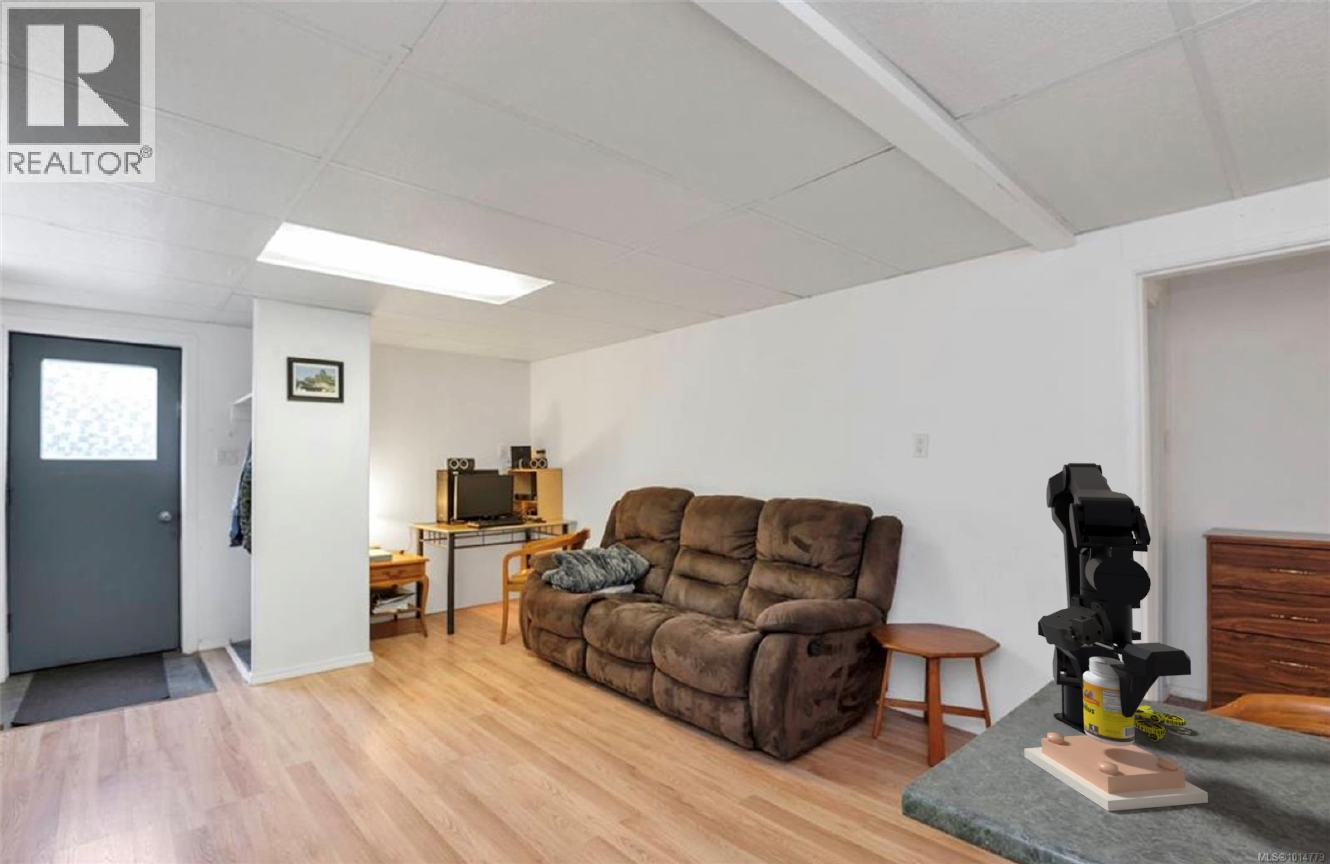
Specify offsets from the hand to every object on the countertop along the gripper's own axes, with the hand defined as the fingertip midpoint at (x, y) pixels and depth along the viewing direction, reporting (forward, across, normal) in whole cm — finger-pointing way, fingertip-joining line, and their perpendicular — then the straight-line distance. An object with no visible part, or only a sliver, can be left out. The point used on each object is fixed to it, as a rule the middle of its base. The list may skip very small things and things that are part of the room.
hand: (1108, 707), depth 84 cm
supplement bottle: (+4, 0, 0) cm, 4 cm away
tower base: (+9, 0, 0) cm, 9 cm away
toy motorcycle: (+10, -12, +19) cm, 24 cm away
